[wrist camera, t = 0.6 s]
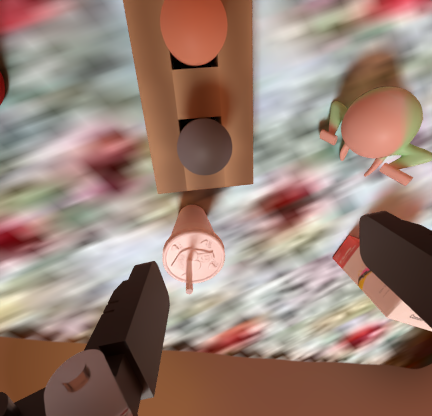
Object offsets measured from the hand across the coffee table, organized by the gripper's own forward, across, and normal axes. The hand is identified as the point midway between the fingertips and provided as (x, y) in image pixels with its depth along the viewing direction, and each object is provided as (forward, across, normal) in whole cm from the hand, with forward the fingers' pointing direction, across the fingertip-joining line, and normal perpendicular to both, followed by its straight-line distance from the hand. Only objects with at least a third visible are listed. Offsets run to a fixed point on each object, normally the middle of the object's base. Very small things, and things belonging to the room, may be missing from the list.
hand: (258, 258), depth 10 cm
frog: (+24, -18, 0) cm, 30 cm away
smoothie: (+23, +6, +7) cm, 24 cm away
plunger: (+19, +2, -3) cm, 19 cm away
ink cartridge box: (+25, -19, +21) cm, 37 cm away
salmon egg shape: (+18, +1, -11) cm, 21 cm away
